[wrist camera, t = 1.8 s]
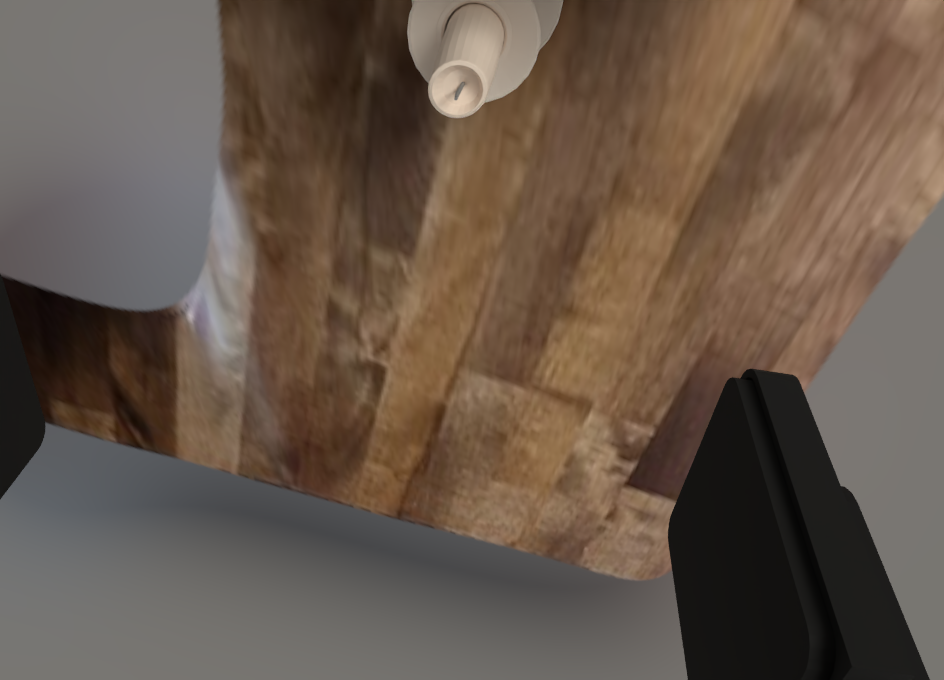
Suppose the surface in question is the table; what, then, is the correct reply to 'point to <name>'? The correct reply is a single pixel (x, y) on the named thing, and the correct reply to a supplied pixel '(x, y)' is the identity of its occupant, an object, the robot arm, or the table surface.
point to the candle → (477, 47)
